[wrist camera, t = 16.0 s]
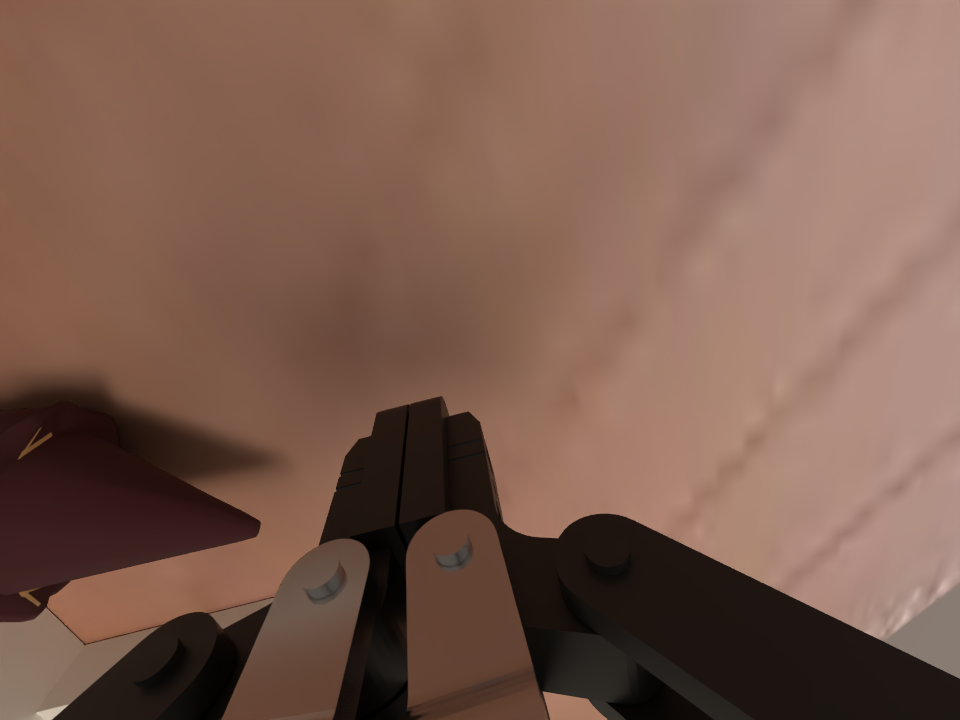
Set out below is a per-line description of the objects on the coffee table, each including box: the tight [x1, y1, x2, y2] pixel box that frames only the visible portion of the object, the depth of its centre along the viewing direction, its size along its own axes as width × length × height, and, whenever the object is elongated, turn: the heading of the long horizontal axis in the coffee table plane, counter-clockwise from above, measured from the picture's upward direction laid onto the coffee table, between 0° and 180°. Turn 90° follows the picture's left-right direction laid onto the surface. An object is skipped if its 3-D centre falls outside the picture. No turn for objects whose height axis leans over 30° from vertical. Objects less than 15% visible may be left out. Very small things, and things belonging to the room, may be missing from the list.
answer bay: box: [0, 597, 275, 720], centre depth 14 cm, size 18×27×5 cm, turn 12°
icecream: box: [0, 401, 261, 622], centre depth 14 cm, size 7×7×15 cm
